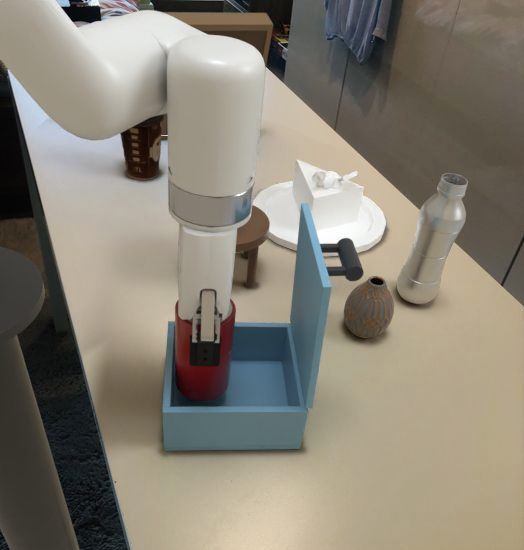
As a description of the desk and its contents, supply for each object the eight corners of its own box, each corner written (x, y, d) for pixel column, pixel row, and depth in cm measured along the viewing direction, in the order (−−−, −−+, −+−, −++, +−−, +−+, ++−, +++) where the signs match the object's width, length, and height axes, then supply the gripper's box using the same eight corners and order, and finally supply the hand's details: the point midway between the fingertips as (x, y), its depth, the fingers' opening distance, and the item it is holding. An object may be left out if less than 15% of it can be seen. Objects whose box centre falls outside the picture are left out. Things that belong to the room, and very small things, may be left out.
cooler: (164, 450, 63) (162, 412, 58) (169, 360, 73) (168, 321, 68) (300, 449, 64) (308, 411, 60) (286, 360, 75) (292, 322, 70)
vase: (332, 332, 80) (343, 283, 74) (351, 307, 85) (364, 260, 79) (375, 351, 78) (391, 303, 72) (393, 326, 82) (409, 278, 76)
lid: (322, 286, 48) (379, 285, 49) (301, 202, 59) (347, 202, 59) (305, 408, 59) (351, 407, 60) (289, 320, 70) (328, 319, 70)
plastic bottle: (423, 282, 91) (464, 167, 77) (441, 308, 86) (488, 190, 73) (387, 284, 90) (422, 168, 76) (403, 311, 85) (444, 192, 71)
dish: (411, 237, 101) (430, 179, 93) (298, 269, 91) (308, 207, 83) (333, 178, 116) (343, 124, 108) (227, 199, 105) (230, 141, 97)
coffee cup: (161, 162, 114) (159, 97, 105) (169, 181, 108) (167, 114, 100) (118, 164, 112) (112, 98, 103) (124, 184, 106) (118, 115, 97)
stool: (182, 293, 83) (181, 242, 77) (184, 245, 93) (183, 196, 87) (267, 295, 85) (273, 245, 79) (261, 248, 94) (266, 200, 88)
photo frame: (157, 132, 125) (151, 4, 107) (248, 126, 131) (256, 5, 114) (173, 161, 115) (170, 26, 98) (270, 153, 122) (283, 25, 105)
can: (174, 401, 64) (173, 326, 56) (176, 361, 68) (176, 286, 60) (229, 402, 64) (237, 327, 56) (228, 362, 69) (234, 288, 61)
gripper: (171, 149, 55) (172, 291, 67) (163, 248, 43) (166, 400, 55) (247, 154, 56) (234, 293, 68) (260, 253, 44) (241, 401, 56)
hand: (204, 340), depth 62 cm, fingers closed on can, 6 cm apart
